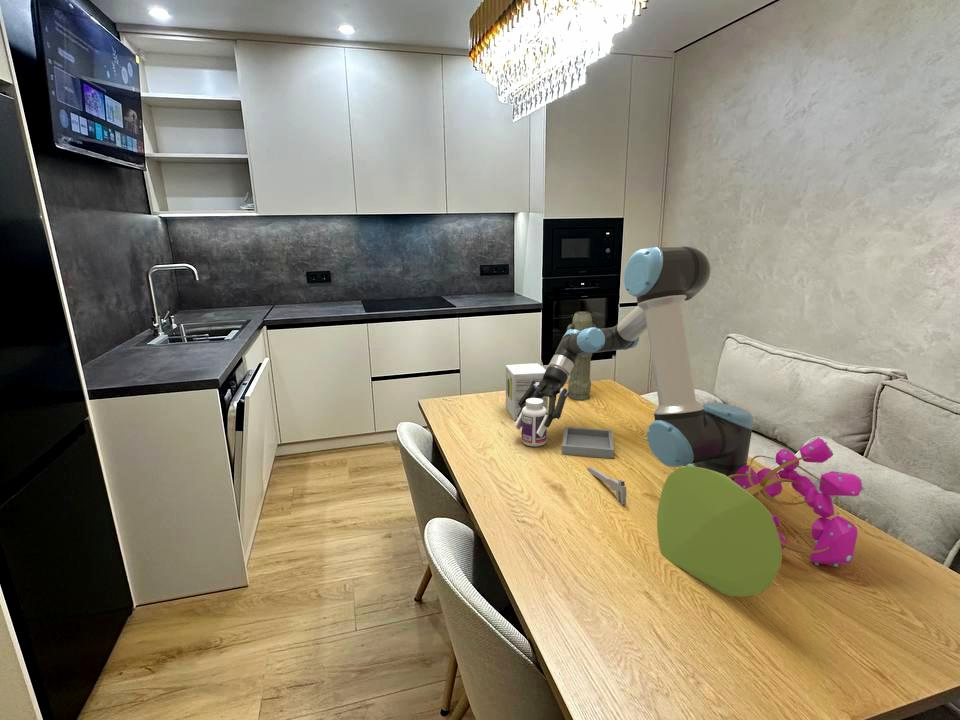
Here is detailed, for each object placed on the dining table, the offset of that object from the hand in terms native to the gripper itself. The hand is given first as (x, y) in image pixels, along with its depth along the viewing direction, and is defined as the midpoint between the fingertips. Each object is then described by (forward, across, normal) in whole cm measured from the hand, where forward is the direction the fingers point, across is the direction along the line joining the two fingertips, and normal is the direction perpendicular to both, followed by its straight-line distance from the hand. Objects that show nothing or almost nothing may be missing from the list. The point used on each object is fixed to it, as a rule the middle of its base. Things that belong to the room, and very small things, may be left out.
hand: (527, 431), depth 157 cm
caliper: (+8, -31, +1) cm, 32 cm away
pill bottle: (+1, 0, -6) cm, 6 cm away
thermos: (-33, +13, -40) cm, 53 cm away
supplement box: (-12, +18, -20) cm, 30 cm away
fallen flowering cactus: (+11, -69, +3) cm, 70 cm away
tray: (-5, -14, -13) cm, 20 cm away
